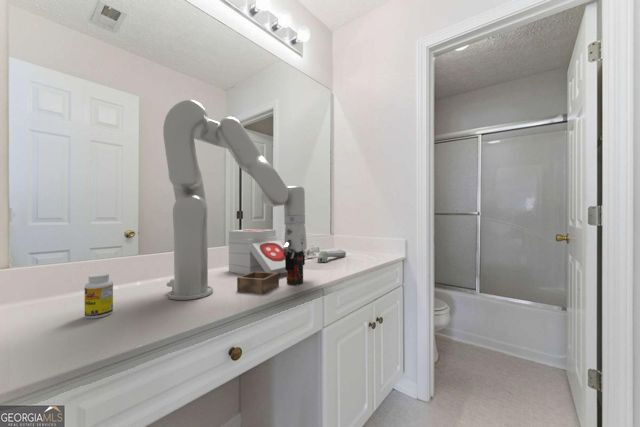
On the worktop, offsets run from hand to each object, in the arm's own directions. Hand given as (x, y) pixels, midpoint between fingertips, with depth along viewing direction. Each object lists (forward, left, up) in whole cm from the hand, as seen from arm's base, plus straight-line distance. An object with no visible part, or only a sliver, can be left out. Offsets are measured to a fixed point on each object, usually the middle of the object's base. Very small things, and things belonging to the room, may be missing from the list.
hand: (295, 267), depth 98 cm
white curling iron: (-1, +53, -6) cm, 53 cm away
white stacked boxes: (-22, +14, -6) cm, 27 cm away
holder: (-9, -10, -6) cm, 15 cm away
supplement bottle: (-35, -43, -6) cm, 56 cm away
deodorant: (0, 0, -6) cm, 6 cm away
